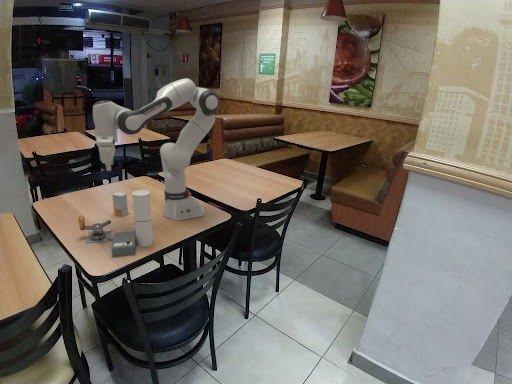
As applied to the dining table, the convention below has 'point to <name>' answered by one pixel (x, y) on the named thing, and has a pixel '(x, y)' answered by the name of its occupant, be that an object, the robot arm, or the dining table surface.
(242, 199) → the dining table surface
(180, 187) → the robot arm
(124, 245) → the stand
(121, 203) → the skincare box
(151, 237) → the cylindrical container
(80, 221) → the capstan
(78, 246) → the dining table surface
